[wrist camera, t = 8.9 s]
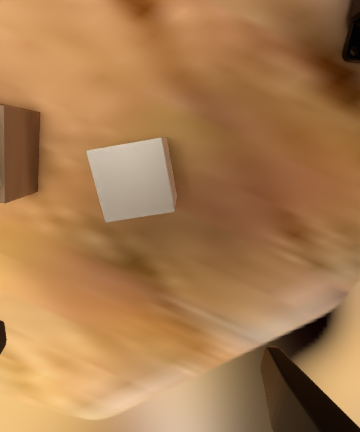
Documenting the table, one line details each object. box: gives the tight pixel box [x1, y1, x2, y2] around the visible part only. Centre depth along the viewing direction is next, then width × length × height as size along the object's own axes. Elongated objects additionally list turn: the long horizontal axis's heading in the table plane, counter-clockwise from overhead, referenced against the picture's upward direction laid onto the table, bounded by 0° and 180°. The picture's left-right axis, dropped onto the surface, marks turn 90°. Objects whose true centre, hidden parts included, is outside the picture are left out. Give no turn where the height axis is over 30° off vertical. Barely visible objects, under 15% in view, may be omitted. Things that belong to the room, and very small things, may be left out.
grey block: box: [86, 137, 177, 223], centre depth 17 cm, size 4×4×4 cm
